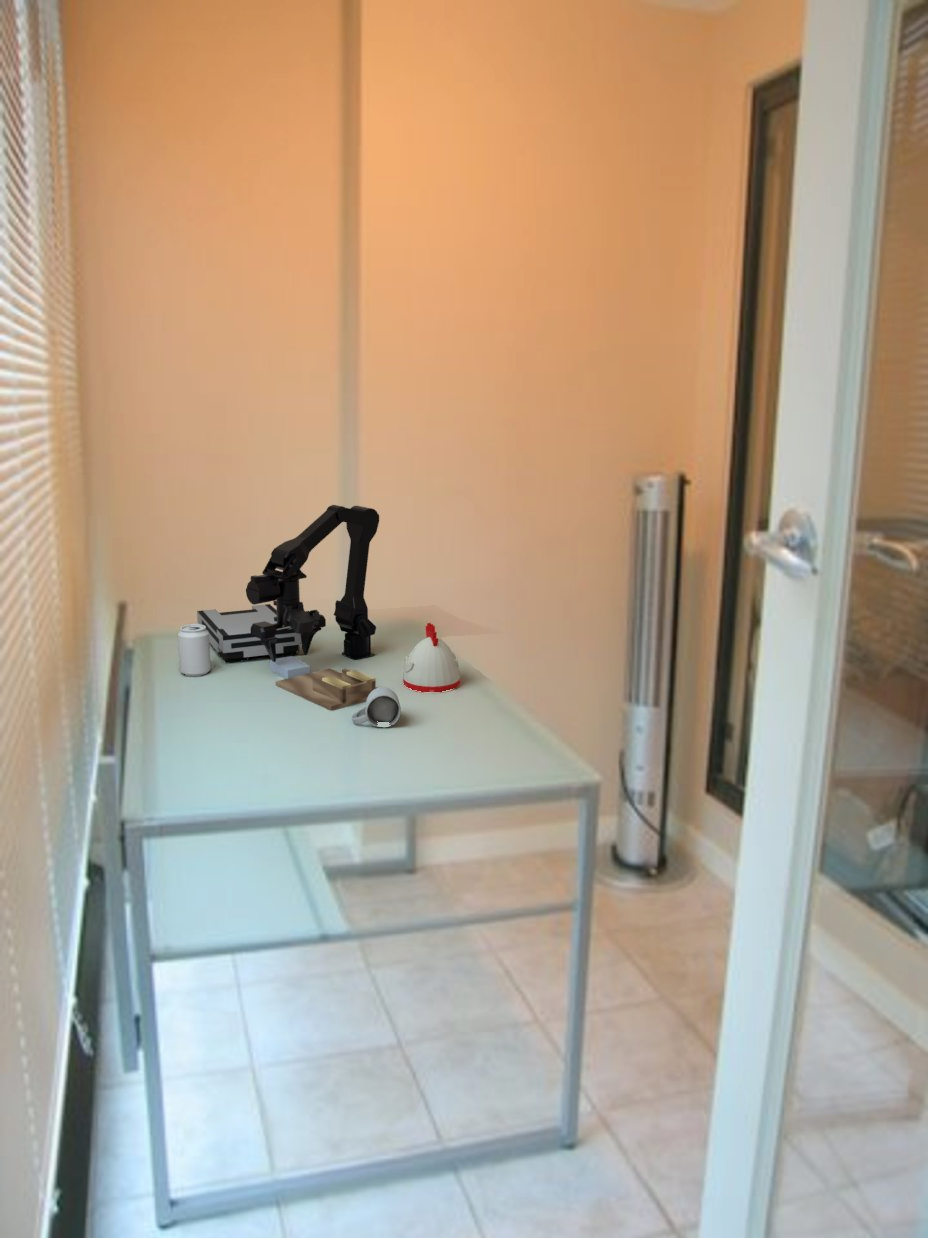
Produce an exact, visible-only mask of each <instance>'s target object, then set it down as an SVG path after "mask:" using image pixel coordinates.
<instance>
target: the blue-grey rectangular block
mask: <svg viewBox="0 0 928 1238" xmlns="http://www.w3.org/2000/svg"><path fill="white" fill-rule="evenodd" d="M269 667H270V668H269V670H270V671H271V672H273V673H274V674H277V675H278V676H280V677H281V678H283V679H288V678H292V677H296V676H300V675H305V674H309V673H311V670H310V669H311V667H310V665H309V664H307V663H305V662H303V661H302V660H299V659H297V658H296V657H293V655H289V656H283V657H279V658H278V657H277V658H276V662H273V661H272V660H271V659H270V660H269Z"/></svg>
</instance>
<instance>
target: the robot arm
mask: <svg viewBox="0 0 928 1238" xmlns="http://www.w3.org/2000/svg"><path fill="white" fill-rule="evenodd" d="M342 523H346V531H347V533H348V536H349V539H350V540H349V541H350V544H349V545H350V546H349V553H348V561H347V562H348V563H347V569H346V570H347V573H346V578H345V579H346V580H345V588H344V590H345V591H344V595H343V596H342V597H341V599H340V600H335V603H334V604H335V608H334V613H333V616H334V617H335V619H334V620H335V622H336V623H337V625H338V626H339V628H340V632H343V633H344V632H345V633H344V639H343V652H341V655H342V656H344V657H346V658H347V657H348V658H350V659H352V660H361V659H365V658H369V657H374V656H375V653H374V652H372V648H371V647H372V646H371V645H372V643H371V642H372V637H371V636H373V635H375V634H376V629H377V626H376V625H375V624H374V622H372V621H371V620H370V619H369V608H368V605H367V602H366V600H365V588H366V586H365V585H366V578H367V569H368V561H369V553H370V552H369V551H370V543H371V542H372V540H373V539H374V537H375V536H376V533H377V531H378V527H379V525H380V514H379V512H377V510H375V509H374V508H370V507H367V506H361V505H353V506H351V507H349V508H348V507H345V506H344V505H336V504H331V505H329V506H327V508H326V510H325V511H324V512H323V513H322V514H321V515H320V516H318V518H316V519H315V520H314V521H312V523H310V525H308V526H307V527H306V528H305V529H304V530H303V531H302V532H301V533H299V534H298V535H297V536H296V537H294V538H292V539H289V540H286V541H284V542H282V543H281V544H279V545H277V546H276V547H274V548H273V550H272V551H271V553H270V555H271V556H270V558H269V560H268V562H267V563H266V565H265V567H264V568H263V570H262V574H260V575H251V576H250V581H248V583H247V584H246V588H245V593H246V598H247V601H249V602H248V603H250V604H251V605H252V606H255V605H261V604H265V603H270V602H273V606H275V607H276V608H275V609H276V610H277V616H276V617H274V621H276V622H277V623H276V624H271V623H268V622H266V621H263V622H258V623H253V624H252V626H251V635H254V636H256V637H257V638H260V639H261V641H262V643H263V644H264V646H265V648H266V650H267V652H268V654H269V655H268V656H269V657H270V660H272V661H273V662H276V659H277V657H276V645H275V642H276V641H277V639H278V638H277V637H275V635H276V634H277V631H280V630H285V629H290V628H292V629H293V630H294V631H295V632H296V633H298V634H301V642H302V644H301V650H302V653H303V655H304V656H307V655H308V653H309V650H310V647H311V644H312V641H313V639H314V636H315V635H316V634H317V633H318V632H319V631H321V630H323V629H322V628H326V626H327V624H326V623H327V622H326V618H325V616H324V615H323V614H321V613H320V611H318V609H312V610H305V608H304V604H303V603H304V601H303V602H302V601H300V600H301V598H300V580H301V579H307V577H308V576H307V574H305V573H304V572H303V571H302V570H301V569H302V567H303V566H304V565H305V563H307V561H308V559H309V555H310V553H311V552H312V550H313V549H315V548H316V547H317V546H318V545H319V544H320V543H321V542H322V541H324V539H325V538H327V536H329V535H330V534H331V533H332V532H334V530H335V529H336V528H338V527H339V526H340V525H341V524H342ZM277 569H278V570H277Z"/></svg>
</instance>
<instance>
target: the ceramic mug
mask: <svg viewBox="0 0 928 1238" xmlns="http://www.w3.org/2000/svg"><path fill="white" fill-rule="evenodd" d="M400 703H401V702H400V701H399V697H398V695H397V694H396V692H395V691H394V690H392V689H391V688H389V687H386V686H385V687H384V686H380V687H377V688H376V689H374V690H373V691H372V692H371V693H370V694H369V695H368V697H367V700H366V701H365V707H362V708H361V709H358V710H357V711H355V712H354V713H353V714H352V715H351V720H352V722H353V724H354V723H355V724H354V725H361V724H363V723H366V722H368V723H369V724H370V725H371V726H373V727H375V726H377V725H378V724H377V723H378V722H389V723H390V724H389V725H393V726H394V725H395V724H397V722H398V721H399V719H400V717H401V713H402V712H401V711H402V710H401V709H402V707H401V704H400ZM377 721H378V722H377Z"/></svg>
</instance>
